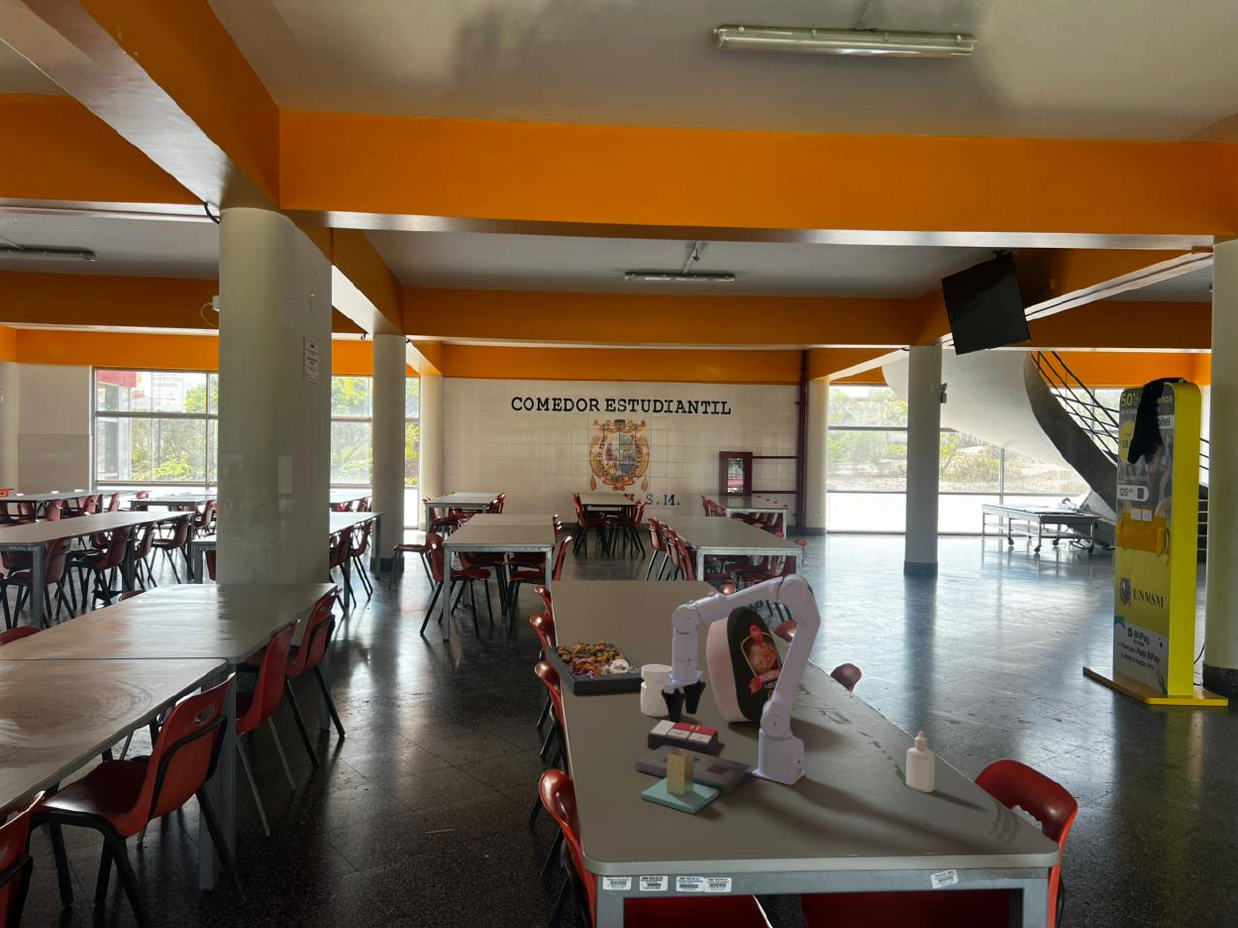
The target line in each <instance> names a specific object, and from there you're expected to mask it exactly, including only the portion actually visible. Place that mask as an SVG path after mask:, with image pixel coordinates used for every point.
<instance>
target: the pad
mask: <svg viewBox="0 0 1238 928" xmlns="http://www.w3.org/2000/svg"><path fill="white" fill-rule="evenodd" d="M719 794H720V793H719V790H716V789H713V788H709V787H706V786H702V785H698V784H695V783H694V788H693V792H691V793H690V794H688V795H687V796H685V797H681V796H677V795H674V794H671V793H667V777H666V778H663V779H662V780H660V781H658V782H656V783H655V784H654V785H652V786H650V787H649V788H647V789H646V790H644V791H643V792H641V793H640V799H642V800H646V801H650V802H651V803H656V804H659V805H662V806H666V807H668V808H672V809H675V810H679V811H683V812H684V813H689V814H692V815H693V814H695V813H696V812H698V811H699V810H701V809H702V808H703V807H704V806H706V805H707V804H708V803H710V802H711V801H713V800H714V799H716V798H717V797H718V796H719Z"/></svg>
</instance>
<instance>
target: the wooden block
mask: <svg viewBox="0 0 1238 928" xmlns="http://www.w3.org/2000/svg"><path fill="white" fill-rule="evenodd" d="M693 788H694V752H693V751H689V750H685V749H681V748H676V749H674V750H672V751H670V752H669V753H668V757H667V793H671V794H674V795H677V796H681V797H685V796H687V795H688V794H690V793H691V792H693Z"/></svg>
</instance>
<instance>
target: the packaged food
mask: <svg viewBox="0 0 1238 928" xmlns="http://www.w3.org/2000/svg"><path fill="white" fill-rule="evenodd" d="M705 649H706V651H705V652H706V663H707V669H708V675H709V681H710V684H711V690H712V693H713V695H714V696H713V697H714V699H715V700H714V701H715V703H716V707H717V709H718V712H719V713H720V715H721V716H722V717H723V719H724V720H725V721H727V722H731V723H735V722H736V723H737V722H758V721H761V717H762V715H763V707H764V705H765V703H766V702H767V701H768V700H769V699H770V698H771V697H772V694H773V692H774V689H775V687H776V684H777V682H778V679H779V676H780V673H781V670H782V667H783V663H782V660H781V657H780V654H779V651H778V648H777V644H776V642H775V639H774V637H773V635H772V632H771V631H770V629H769V627H768V625H767V623H766V622H765V620H764V618H762V616H761V614H759V612H757V611H756V610H754V609H752V608H750V607H747V606H745V605H744V606H741V607H738V608H735V609H732V610H731V612H730V614H729V616H728V617H726V618H724V619H721V620H718V621H715V622H712V623H710V626H709V629H708V634H707V637H706V647H705Z"/></svg>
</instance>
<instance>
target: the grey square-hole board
mask: <svg viewBox="0 0 1238 928" xmlns="http://www.w3.org/2000/svg"><path fill="white" fill-rule="evenodd" d="M676 748H678V747H674V746H670V745H666V744H665V745H663V746H661V747H660V748H658V749H654V750H653V751H651V752H648V753H647V754H645V755H644V756H642V757H640V758H638V759H636V760H635V770H636V771H639V772H643V773H646V774H649V775H653V776H657V777H660V778H663V779H665V778H666V777H667V757H668V753H669V752H670V751H672V750H674V749H676ZM681 749H682V748H681ZM685 750H686V749H685ZM689 751H690V750H689ZM693 752H694V751H693ZM752 768H753V766H752V765H750V764H745V763H742V762H737V761H733V760H729V759H726V758H722V757H717V756H713V755H711V754H710V755H706V754H702V753H698V752H694V783H695V784H698V785H702V786H706V787H709V788H713V789H716V790H719V794H721V795H727V794H728V793H730V792H731V791H732V790H733V789H734V788H736V787H737V786H739V785H740V784H741V783H743V782H745V780H747V779H748V778H750V777H751V776H752V775H751V773H752V772H753V771H752V770H753V769H752Z"/></svg>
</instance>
